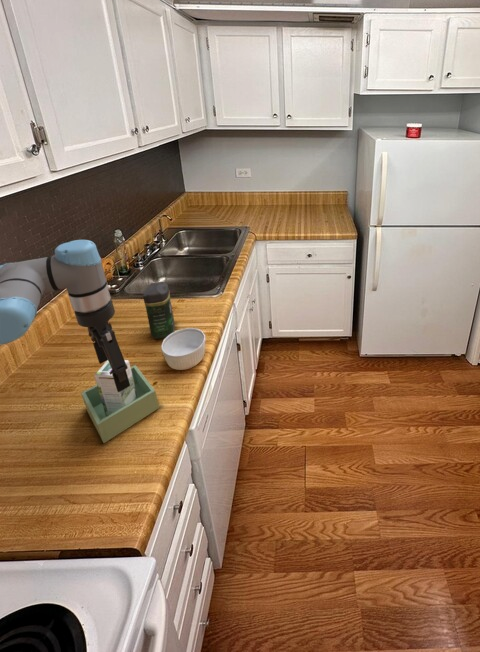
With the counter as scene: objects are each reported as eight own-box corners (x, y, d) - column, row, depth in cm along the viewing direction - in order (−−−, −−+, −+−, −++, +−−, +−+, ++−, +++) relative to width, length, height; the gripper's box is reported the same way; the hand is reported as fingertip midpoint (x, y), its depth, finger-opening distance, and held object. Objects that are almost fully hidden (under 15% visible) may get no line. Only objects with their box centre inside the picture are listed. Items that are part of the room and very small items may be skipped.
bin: (103, 443, 81) (97, 424, 78) (86, 410, 89) (80, 392, 87) (159, 408, 90) (155, 390, 88) (139, 381, 99) (135, 364, 96)
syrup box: (118, 398, 92) (106, 358, 87) (139, 399, 92) (128, 358, 87) (105, 417, 87) (92, 374, 82) (127, 418, 87) (115, 375, 81)
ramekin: (207, 368, 103) (204, 351, 101) (161, 377, 100) (157, 359, 97) (208, 341, 115) (205, 324, 113) (167, 348, 112) (163, 331, 109)
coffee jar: (174, 337, 117) (166, 292, 110) (150, 342, 114) (139, 296, 108) (176, 321, 125) (169, 278, 118) (153, 325, 123) (144, 281, 116)
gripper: (130, 319, 72) (149, 391, 80) (94, 279, 88) (113, 343, 96) (91, 336, 67) (115, 412, 75) (60, 291, 83) (82, 357, 90)
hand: (114, 373), depth 85 cm, fingers open, 13 cm apart
